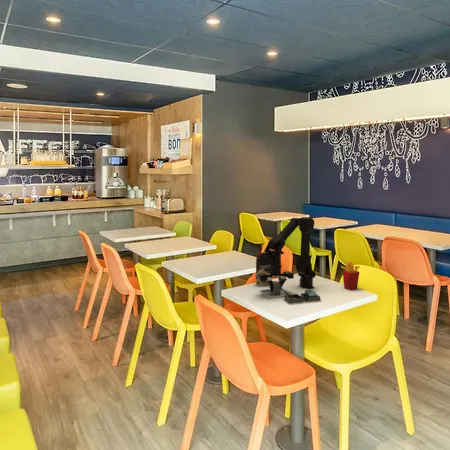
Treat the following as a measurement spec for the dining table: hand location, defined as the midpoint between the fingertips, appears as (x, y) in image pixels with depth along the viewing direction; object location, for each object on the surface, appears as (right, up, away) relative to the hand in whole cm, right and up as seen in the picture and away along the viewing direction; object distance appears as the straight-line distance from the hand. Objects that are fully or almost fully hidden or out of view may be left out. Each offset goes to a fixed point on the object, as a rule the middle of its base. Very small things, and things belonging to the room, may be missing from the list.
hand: (275, 291), depth 230 cm
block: (0, -1, 0) cm, 1 cm away
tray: (0, -2, 0) cm, 2 cm away
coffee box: (-5, 0, +19) cm, 19 cm away
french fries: (+42, 0, +11) cm, 43 cm away
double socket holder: (+12, -3, -11) cm, 17 cm away
